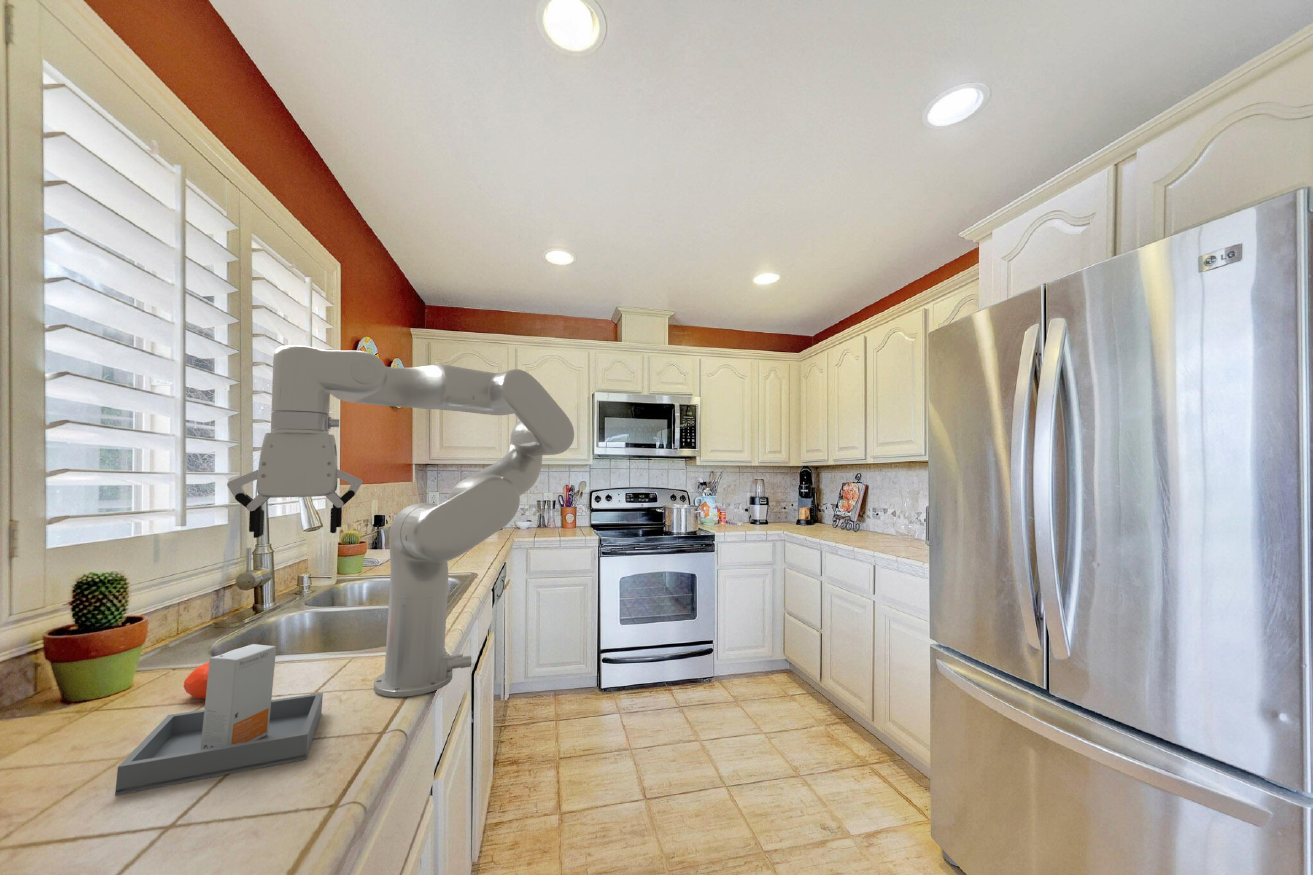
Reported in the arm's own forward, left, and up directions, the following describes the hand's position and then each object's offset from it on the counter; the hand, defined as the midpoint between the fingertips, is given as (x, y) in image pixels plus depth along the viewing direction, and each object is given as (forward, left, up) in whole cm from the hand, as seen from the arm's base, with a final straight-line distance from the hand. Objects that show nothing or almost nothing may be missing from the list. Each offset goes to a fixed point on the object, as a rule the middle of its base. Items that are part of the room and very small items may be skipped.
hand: (297, 534), depth 79 cm
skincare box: (+4, +9, -27) cm, 28 cm away
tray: (+4, +9, -27) cm, 29 cm away
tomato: (+12, -13, -28) cm, 33 cm away
